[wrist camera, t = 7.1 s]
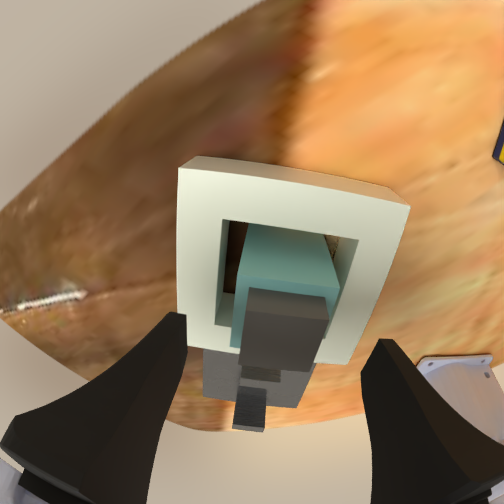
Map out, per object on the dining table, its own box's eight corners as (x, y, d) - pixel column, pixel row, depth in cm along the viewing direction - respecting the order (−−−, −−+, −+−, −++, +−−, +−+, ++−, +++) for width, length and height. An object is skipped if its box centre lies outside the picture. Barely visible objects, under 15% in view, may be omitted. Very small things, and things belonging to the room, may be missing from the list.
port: (388, 187, 14) (410, 206, 11) (340, 331, 19) (347, 364, 16) (196, 155, 14) (178, 167, 11) (190, 311, 19) (179, 343, 16)
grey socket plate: (322, 340, 19) (327, 381, 16) (296, 402, 23) (296, 437, 20) (205, 325, 19) (193, 365, 16) (204, 391, 23) (196, 425, 20)
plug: (323, 232, 16) (346, 310, 10) (307, 292, 18) (317, 380, 12) (249, 221, 16) (232, 296, 10) (241, 283, 18) (224, 369, 12)
